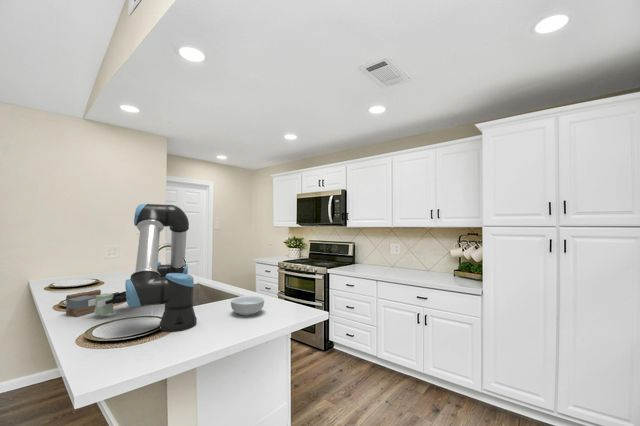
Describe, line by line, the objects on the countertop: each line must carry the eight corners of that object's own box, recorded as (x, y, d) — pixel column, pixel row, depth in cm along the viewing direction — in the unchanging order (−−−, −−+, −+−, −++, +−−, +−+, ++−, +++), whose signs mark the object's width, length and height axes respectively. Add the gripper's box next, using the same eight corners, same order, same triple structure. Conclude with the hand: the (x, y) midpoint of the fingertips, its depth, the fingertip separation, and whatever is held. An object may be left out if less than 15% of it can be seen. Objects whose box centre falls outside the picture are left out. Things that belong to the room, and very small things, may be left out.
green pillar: (112, 312, 141) (113, 294, 142) (102, 315, 136) (103, 296, 137) (105, 311, 143) (106, 293, 143) (95, 314, 138) (95, 295, 138)
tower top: (95, 304, 147) (95, 297, 147) (78, 309, 140) (78, 301, 140) (83, 303, 149) (83, 295, 149) (66, 307, 142) (66, 299, 142)
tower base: (94, 312, 147) (94, 304, 147) (77, 317, 139) (77, 309, 139) (83, 311, 149) (83, 303, 149) (65, 315, 142) (66, 307, 142)
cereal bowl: (270, 312, 152) (270, 298, 152) (247, 321, 138) (247, 306, 138) (247, 306, 161) (248, 294, 161) (223, 314, 147) (224, 300, 147)
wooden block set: (64, 294, 162) (98, 287, 178) (63, 304, 161) (98, 296, 178) (83, 297, 156) (116, 290, 172) (82, 307, 155) (116, 299, 172)
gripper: (150, 301, 154) (107, 313, 132) (124, 298, 160) (79, 310, 137) (150, 287, 155) (107, 297, 132) (125, 284, 160) (80, 294, 138)
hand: (93, 303), depth 135 cm, fingers closed on green pillar, 5 cm apart
